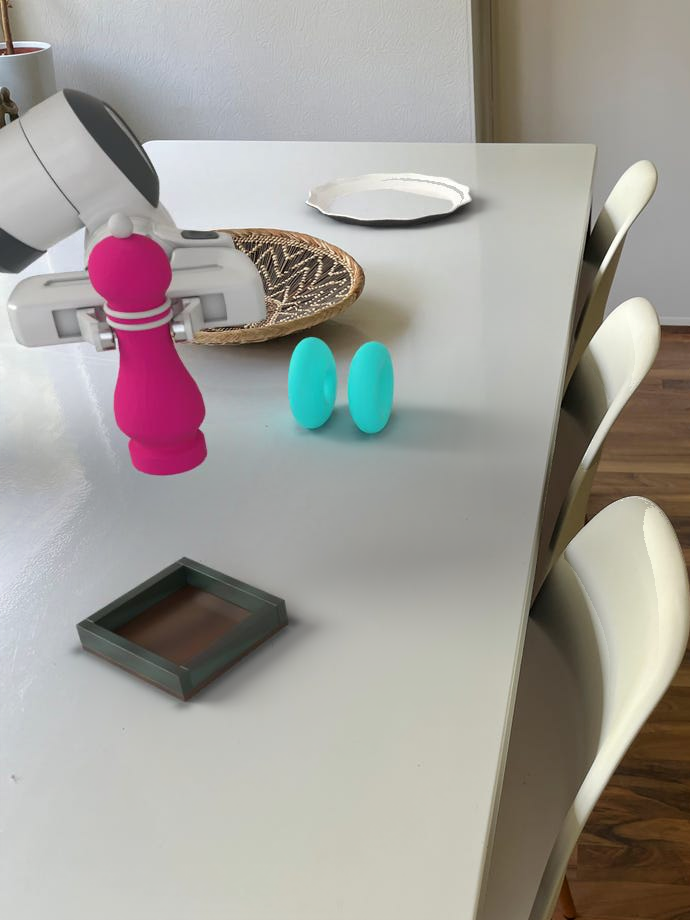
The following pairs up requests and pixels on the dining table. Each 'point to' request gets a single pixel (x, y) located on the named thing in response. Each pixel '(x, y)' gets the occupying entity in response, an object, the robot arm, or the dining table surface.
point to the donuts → (318, 385)
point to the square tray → (183, 627)
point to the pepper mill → (147, 353)
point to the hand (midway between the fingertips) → (144, 337)
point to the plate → (345, 186)
